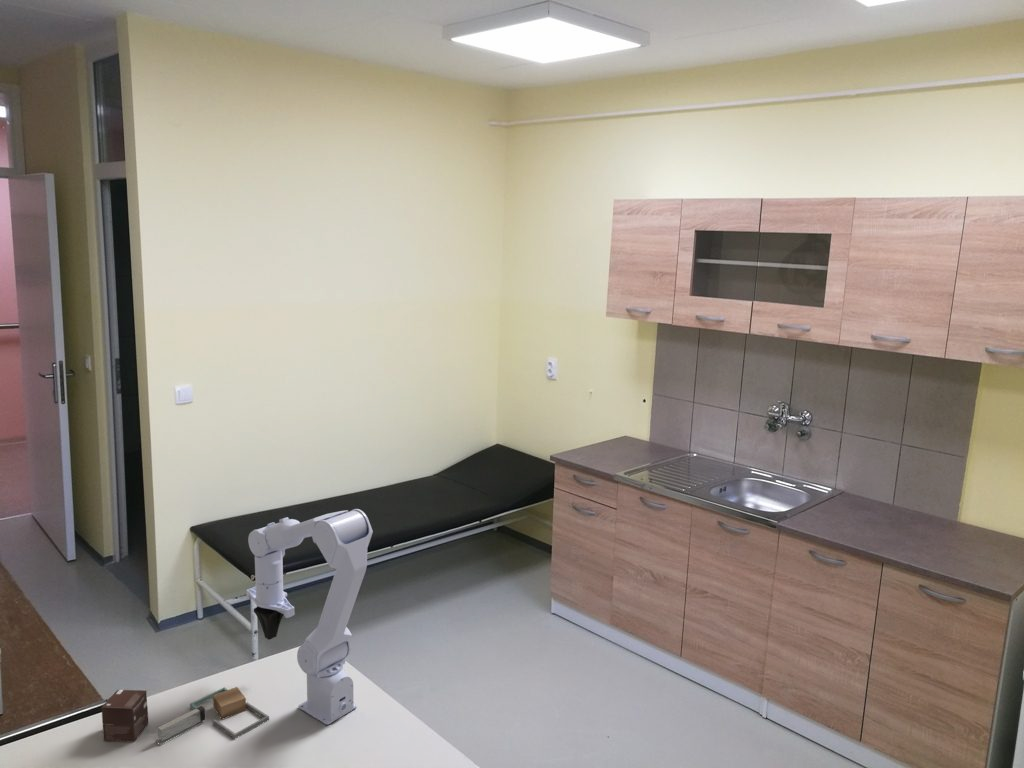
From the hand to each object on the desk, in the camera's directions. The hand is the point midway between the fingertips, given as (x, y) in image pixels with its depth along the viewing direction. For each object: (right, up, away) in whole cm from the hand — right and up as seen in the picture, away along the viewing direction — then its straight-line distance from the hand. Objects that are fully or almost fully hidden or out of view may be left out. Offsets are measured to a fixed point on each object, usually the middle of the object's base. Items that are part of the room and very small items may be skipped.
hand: (270, 637), depth 167 cm
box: (-22, -13, -19) cm, 32 cm away
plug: (-5, -12, -10) cm, 16 cm away
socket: (-6, -13, -18) cm, 22 cm away
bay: (-9, -11, -9) cm, 17 cm away
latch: (-12, -13, -18) cm, 25 cm away
